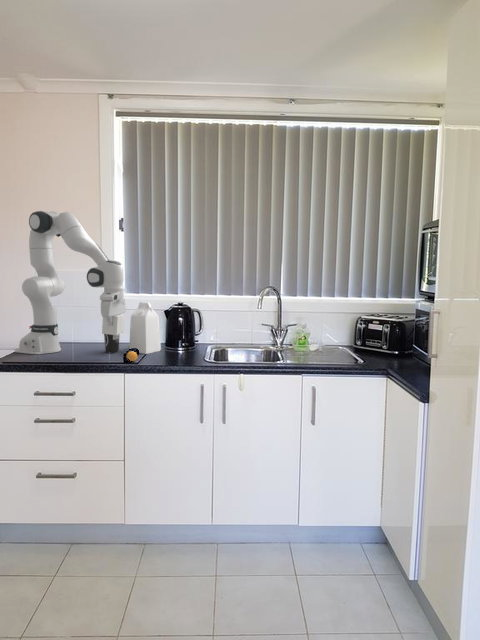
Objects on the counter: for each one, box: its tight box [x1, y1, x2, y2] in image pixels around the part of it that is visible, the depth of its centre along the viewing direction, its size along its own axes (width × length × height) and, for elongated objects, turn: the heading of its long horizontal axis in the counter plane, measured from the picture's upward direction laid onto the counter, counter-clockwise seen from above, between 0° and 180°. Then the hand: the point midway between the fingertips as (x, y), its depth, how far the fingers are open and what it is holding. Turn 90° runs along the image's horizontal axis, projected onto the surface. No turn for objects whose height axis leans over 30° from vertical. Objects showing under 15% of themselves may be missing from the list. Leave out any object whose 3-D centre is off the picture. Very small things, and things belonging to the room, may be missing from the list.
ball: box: [126, 351, 138, 362], centre depth 218 cm, size 5×5×5 cm
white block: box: [101, 314, 125, 335], centre depth 217 cm, size 7×7×9 cm
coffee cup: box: [103, 334, 121, 354], centre depth 240 cm, size 10×10×15 cm
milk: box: [128, 301, 162, 355], centre depth 243 cm, size 12×12×26 cm
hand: (114, 324), depth 217 cm, fingers closed on white block, 7 cm apart
